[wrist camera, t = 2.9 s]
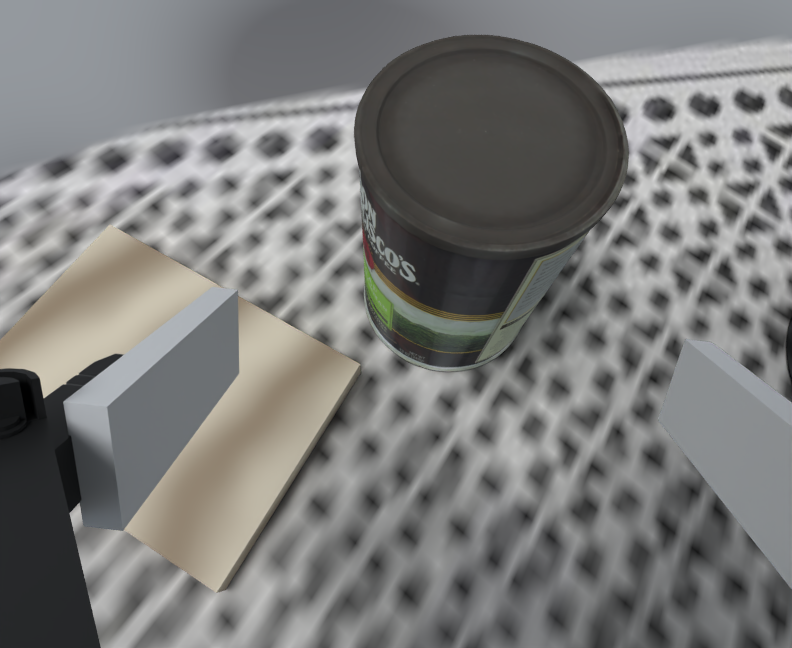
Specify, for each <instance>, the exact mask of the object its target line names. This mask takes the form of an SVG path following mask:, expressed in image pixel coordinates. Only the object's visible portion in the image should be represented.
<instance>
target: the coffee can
mask: <svg viewBox="0 0 792 648" xmlns="http://www.w3.org/2000/svg"><path fill="white" fill-rule="evenodd" d="M354 138H355V148H356V156H357V161H358V166H359V173H360V193H361V213H362V230H363V250H364V273H365V285H364V301H365V308H366V313H367V316H368V319H369V321H370V323H371V325H372V327H373V329H374V331H375V332H376V334H377V335H378V337H379V338H380V339H381V340H382V342H383V343H384V344H385V345H386V346H387V347H388V348H389V349H391V350H392V351H393V352H394V353H395V354H397V355H398V356H399V357H401V358H403V359H404V360H406V361H407V362H410V363H412V364H414V365H417V366H420V367H423V368H426V369H430V370H436V371H445V372H450V371H463V370H468V369H473V368H476V367H479V366H482V365H484V364H486V363H488V362H490V361H491V360H493V359H495V358H496V357H498V356H499V355H500V354H501V353H503V352H504V351H505V350H506V349H507V348H508V347H509V346H510V344H511V343H512V342H513V341H514V339H515V338H516V336H517V335H518V333H519V331H520V329H521V327H522V326H523V324H524V323H525V321H526V320H527V319H528V317H529V316H530V314H531V313H532V311H533V310H534V309H535V307H536V306H537V304H538V303H539V301H540V300H541V299H542V297H543V296H544V295H545V293H546V292H547V290H548V289H549V287H550V286H551V285H552V283H553V282H554V280H555V279H556V277H557V276H558V274H559V273H560V272H561V270H562V269H563V267H564V266H565V265H566V263H567V262H568V260H569V259H570V258H571V256H572V255H573V253H574V252H575V250H576V249H577V248H578V246H579V245H580V243H581V242H582V241H583V239H584V238H585V236H586V235H587V233H588V232H589V230H590V229H592V228H593V227H594V226H595V225H596V224H597V223H598V222H599V221H600V220H601V219H602V217H603V216H604V215H605V214H606V213H607V211H608V210H609V209H610V208H611V206H612V205H613V203H614V202H615V200H616V199H617V197H618V195H619V193H620V191H621V188H622V186H623V183H624V181H625V178H626V174H627V168H628V159H629V149H628V141H627V135H626V131H625V128H624V125H623V122H622V119H621V118H620V115H619V113H618V110H617V109H616V107H615V105H614V103H613V102H612V100H611V99H610V97H609V96H608V95H607V94H606V92H605V91H604V90H603V88H602V87H601V86H600V85H599V84H598V83H597V82H596V81H595V80H594V79H593V78H592V77H590V76H589V75H588V74H587V73H586V72H585V71H583V70H582V69H581V68H579V67H578V66H577V65H575V64H574V63H572V62H571V61H569V60H567V59H566V58H564V57H562V56H560V55H558V54H556V53H554V52H552V51H550V50H548V49H545V48H543V47H540V46H538V45H535V44H531V43H528V42H524V41H520V40H517V39H512V38H507V37H501V36H493V35H462V36H453V37H448V38H443V39H439V40H435V41H432V42H429V43H426V44H423V45H421V46H418V47H415V48H413V49H411V50H409V51H407V52H405V53H403V54H401V55H400V56H398V57H397V58H395V59H394V60H392V61H391V62H390V63H388V64H387V66H386V67H384V68H383V69H382V70H381V71H380V72H379V73H378V74H377V76H376V77H375V78H374V79H373V80H372V82H371V83H370V84H369V86H368V88H367V89H366V91H365V93H364V95H363V97H362V99H361V101H360V103H359V106H358V109H357V113H356V117H355V126H354Z"/></svg>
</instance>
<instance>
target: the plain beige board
mask: <svg viewBox="0 0 792 648" xmlns="http://www.w3.org/2000/svg"><path fill="white" fill-rule="evenodd" d="M211 287H217V288H223V287H221V286H219V285H217V284H216V283H214V282H212V281H210V280H208V279H207V278H205V277H203V276H201V275H199V274H198V273H196V272H194V271H192V270H191V269H189V268H187V267H185V266H183V265H182V264H180V263H178V262H176V261H174V260H173V259H171V258H169V257H167V256H165V255H164V254H162V253H160V252H158V251H156V250H155V249H153V248H151V247H149V246H148V245H146V244H144V243H142V242H140V241H139V240H137V239H135V238H133V237H131V236H130V235H128V234H126V233H124V232H122V231H121V230H119V229H117V228H115V227H113V226H112V225H109V226H108V227H107V228H106V229H105V230H104V231H103V232H102V233H101V234H100V236H99V237H98V238H97V239H96V240H95V241H94V242H93V243H92V244H91V245H90V246H89V247H88V248H87V249H86V250H85V251H84V252H83V253H82V254H81V256H80V257H79V258H78V259H77V260H76V261H75V262H74V263H73V264H72V265H71V266H70V267H69V268H68V269H67V270H66V271H65V272H64V273H63V274H62V276H61V277H60V278H59V279H58V280H57V281H56V282H55V283H54V284H53V285H52V286H51V287H50V288H49V289H48V290H47V291H46V292H45V293H44V295H43V296H42V297H41V298H40V299H39V300H38V301H37V302H36V303H35V304H34V305H33V306H32V307H31V308H30V309H29V310H28V311H27V312H26V313H25V315H24V316H23V317H22V318H21V319H20V320H19V321H18V322H17V323H16V324H15V325H14V326H13V327H12V328H11V329H10V330H9V331H8V332H7V333H6V335H5V336H4V337H3V338H2V339H1V340H0V369H6V368H14V369H26V370H29V371H32V372H35V373H36V374H37V375H38V376H39V378H40V382H41V387H42V393H43V398H45V397H46V396H48V395H49V394H50V393H52V392H53V391H55V390H56V389H57V388H59V387H60V386H62V385H63V384H65V385H66V382H67V381H68V380H70V379H71V378H73V377H74V376H75V375H79V373H80V372H81V371H82V370H84V369H85V368H86V367H88V366H89V365H91V364H92V363H93V362H95V361H98V360H100V359H103V358H106V357H108V356H111V355H113V354H126V353H127V352H128V351H130V350H131V349H132V348H134V347H135V346H136V345H137V344H139V343H140V342H141V341H143V340H144V339H145V338H147V337H148V336H149V335H150V334H152V333H153V332H154V331H156V330H157V329H158V328H159V327H161V326H162V325H163V324H165V323H166V322H167V321H169V320H170V319H171V318H172V317H174V316H175V315H176V314H178V313H179V312H180V311H182V310H183V309H184V308H185V307H187V306H188V305H189V304H191V303H192V302H193V301H194V300H196V299H197V298H198V297H200V296H201V295H202V294H204V293H205V292H206V291H207V290H209V289H210V288H211ZM238 323H239V374H238V376H237V377H236V379H235V380H234V381H233V383H232V384H231V385H230V387H229V388H228V389H227V391H226V392H225V393H224V395H223V396H222V397H221V399H220V400H219V402H218V403H217V404H216V406H215V407H214V408H213V410H212V411H211V412H210V414H209V415H208V416H207V418H206V419H205V420H204V422H203V423H202V425H201V426H200V427H199V429H198V430H197V431H196V433H195V434H194V435H193V437H192V438H191V439H190V441H189V442H188V444H187V445H186V446H185V448H184V449H183V450H182V452H181V453H180V454H179V456H178V457H177V458H176V460H175V461H174V462H173V464H172V465H171V467H170V468H169V469H168V471H167V472H166V473H165V475H164V476H163V477H162V479H161V480H160V481H159V483H158V484H157V485H156V487H155V488H154V490H153V491H152V492H151V494H150V495H149V496H148V498H147V499H146V500H145V502H144V503H143V504H142V506H141V507H140V509H139V510H138V511H137V513H136V514H135V515H134V517H133V518H132V519H131V521H130V522H129V523H128V525H127V526H126V527H125V529H124V530H125V531H127V532H128V533H129V534H131V535H132V536H134V537H135V538H137V539H138V540H140V541H141V542H143V543H144V544H146V545H147V546H149V547H150V548H151V549H153V550H154V551H156V552H157V553H159V554H160V555H162V556H163V557H165V558H166V559H168V560H169V561H170V562H172V563H173V564H175V565H176V566H178V567H179V568H181V569H182V570H184V571H185V572H187V573H188V574H190V575H191V576H192V577H194V578H195V579H197V580H198V581H200V582H201V583H203V584H204V585H206V586H207V587H209V588H210V589H212V590H213V591H214V592H216V593H218V592H221V591H224V590H226V588H227V587H228V585H229V583H230V582H231V580H232V579H233V577H234V575H235V574H236V572H237V570H238V569H239V567H240V566H241V564H242V562H243V561H244V559H245V558H246V556H247V554H248V553H249V551H250V550H251V548H252V546H253V545H254V543H255V542H256V540H257V538H258V537H259V535H260V534H261V532H262V530H263V529H264V527H265V526H266V524H267V522H268V521H269V519H270V518H271V516H272V514H273V513H274V511H275V510H276V508H277V506H278V505H279V503H280V502H281V500H282V498H283V497H284V495H285V494H286V492H287V490H288V489H289V487H290V486H291V484H292V482H293V481H294V479H295V478H296V476H297V474H298V473H299V471H300V469H301V468H302V466H303V465H304V463H305V461H306V460H307V458H308V457H309V455H310V453H311V452H312V450H313V449H314V447H315V445H316V444H317V442H318V441H319V439H320V437H321V436H322V434H323V433H324V431H325V429H326V428H327V426H328V425H329V423H330V421H331V420H332V418H333V417H334V415H335V413H336V412H337V410H338V409H339V407H340V405H341V404H342V402H343V401H344V399H345V397H346V396H347V394H348V393H349V391H350V389H351V388H352V386H353V385H354V383H355V381H356V380H357V378H358V376H359V375H360V373H361V366H360V364H359V363H357V362H355V361H354V360H352V359H350V358H348V357H346V356H345V355H343V354H341V353H339V352H337V351H336V350H334V349H332V348H330V347H328V346H327V345H325V344H323V343H321V342H320V341H318V340H316V339H314V338H312V337H311V336H309V335H307V334H305V333H303V332H302V331H300V330H298V329H296V328H294V327H293V326H291V325H289V324H287V323H285V322H284V321H282V320H280V319H278V318H277V317H275V316H273V315H271V314H269V313H268V312H266V311H264V310H262V309H260V308H259V307H257V306H255V305H253V304H251V303H250V302H248V301H246V300H244V299H242V298H241V297H239V296H238Z"/></svg>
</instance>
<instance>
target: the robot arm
mask: <svg viewBox="0 0 792 648" xmlns="http://www.w3.org/2000/svg"><path fill="white" fill-rule="evenodd" d="M787 357H788V365H789V370H790V374H791V378H792V319H791V322H790V326H789V330H788V337H787ZM238 374H239V323H238V290H235V289H226V288H217V287H211V288H210V289H209V290H207V291H206V292H205V293H204V294H202V295H201V296H200V297H198V298H197V299H196V300H194V301H193V302H192V303H191V304H189V305H188V306H187V307H185V308H184V309H183V310H182V311H180V312H179V313H178V314H176V315H175V316H174V317H172V318H171V319H170V320H169V321H167V322H166V323H165V324H163V325H162V326H161V327H159V328H158V329H157V330H156V331H154V332H153V333H152V334H150V335H149V336H148V337H147V338H145V339H144V340H143V341H141V342H140V343H139V344H137V345H136V346H135V347H134V348H132V349H131V350H130V351H128V352H127V353H126V354H113V355H111V356H108V357H106V358H103V359H100V360H98V361H95V362H93V363H92V364H91V365H89V366H88V367H86V368H85V369H84V370H82V371H81V372H80V373H79V375H75V376H74V377H73V378H71V379H70V380H68V381H67V382H66V385H65V384H63V385H62V386H60V387H59V388H57V389H56V390H55V391H53V392H52V393H50V394H49V395H48V396H46V397H45V398H43V393H42V387H41V382H40V378H39V376H38V375H37V374H36V373H35V372H32V371H29V370H26V369H14V368H6V369H0V648H101V647H100V643H99V639H98V634H97V630H96V626H95V621H94V617H93V613H92V609H91V604H90V600H89V596H88V591H87V587H86V583H85V579H84V574H83V570H82V566H81V561H80V557H79V553H78V549H77V544H76V540H75V536H74V531H73V527H72V523H71V519H70V514H69V513H70V512H71V511H72V510H73V509H74V508H75V507H76V505H77V504H78V503H79V502H80V507H81V513H82V519H83V525H84V526H86V527H95V528H103V529H112V530H121V531H123V530H124V529H125V527H126V526H127V525H128V523H129V522H130V521H131V519H132V518H133V517H134V515H135V514H136V513H137V511H138V510H139V509H140V507H141V506H142V504H143V503H144V502H145V500H146V499H147V498H148V496H149V495H150V494H151V492H152V491H153V490H154V488H155V487H156V485H157V484H158V483H159V481H160V480H161V479H162V477H163V476H164V475H165V473H166V472H167V471H168V469H169V468H170V467H171V465H172V464H173V462H174V461H175V460H176V458H177V457H178V456H179V454H180V453H181V452H182V450H183V449H184V448H185V446H186V445H187V444H188V442H189V441H190V439H191V438H192V437H193V435H194V434H195V433H196V431H197V430H198V429H199V427H200V426H201V425H202V423H203V422H204V420H205V419H206V418H207V416H208V415H209V414H210V412H211V411H212V410H213V408H214V407H215V406H216V404H217V403H218V402H219V400H220V399H221V397H222V396H223V395H224V393H225V392H226V391H227V389H228V388H229V387H230V385H231V384H232V383H233V381H234V380H235V379H236V377H237V376H238ZM658 421H659V422H660V423H661V425H662V426H663V427H664V429H665V430H666V431H667V432H668V434H669V435H670V436H671V437H672V439H673V440H674V441H675V442H676V444H677V445H678V446H679V447H680V449H681V450H682V451H683V453H684V454H685V455H686V456H687V458H688V459H689V460H690V461H691V463H692V464H693V465H694V466H695V468H696V469H697V470H698V471H699V473H700V474H701V475H702V477H703V478H704V479H705V480H706V482H707V483H708V484H709V485H710V487H711V488H712V489H713V490H714V492H715V493H716V494H717V496H718V497H719V498H720V499H721V501H722V502H723V503H724V504H725V506H726V507H727V508H728V509H729V511H730V512H731V513H732V514H733V516H734V517H735V518H736V520H737V521H738V522H739V523H740V525H741V526H742V527H743V528H744V530H745V531H746V532H747V533H748V535H749V536H750V537H751V539H752V540H753V541H754V542H755V544H756V545H757V546H758V547H759V549H760V550H761V551H762V552H763V554H764V555H765V556H766V557H767V559H768V560H769V561H770V563H771V564H772V565H773V566H774V568H775V569H776V570H777V571H778V573H779V574H780V575H781V576H782V578H783V579H784V580H785V581H786V583H787V584H788V585H789V587H790V588H791V589H792V403H791V402H790V401H789V400H788V399H786V398H785V397H784V396H782V395H781V394H780V393H778V392H777V391H776V390H774V389H773V388H772V387H770V386H769V385H768V384H766V383H765V382H764V381H762V380H761V379H760V378H758V377H757V376H756V375H755V374H753V373H752V372H751V371H749V370H748V369H747V368H745V367H744V366H743V365H741V364H740V363H739V362H737V361H736V360H735V359H733V358H732V357H731V356H729V355H728V354H727V353H725V352H724V351H723V350H721V349H720V348H719V347H718V346H716V345H715V344H714V343H712V342H707V341H698V340H689V339H685V341H684V344H683V347H682V350H681V353H680V356H679V359H678V362H677V365H676V368H675V371H674V374H673V377H672V380H671V383H670V386H669V389H668V392H667V395H666V398H665V401H664V403H663V406H662V409H661V412H660V415H659V418H658Z"/></svg>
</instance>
